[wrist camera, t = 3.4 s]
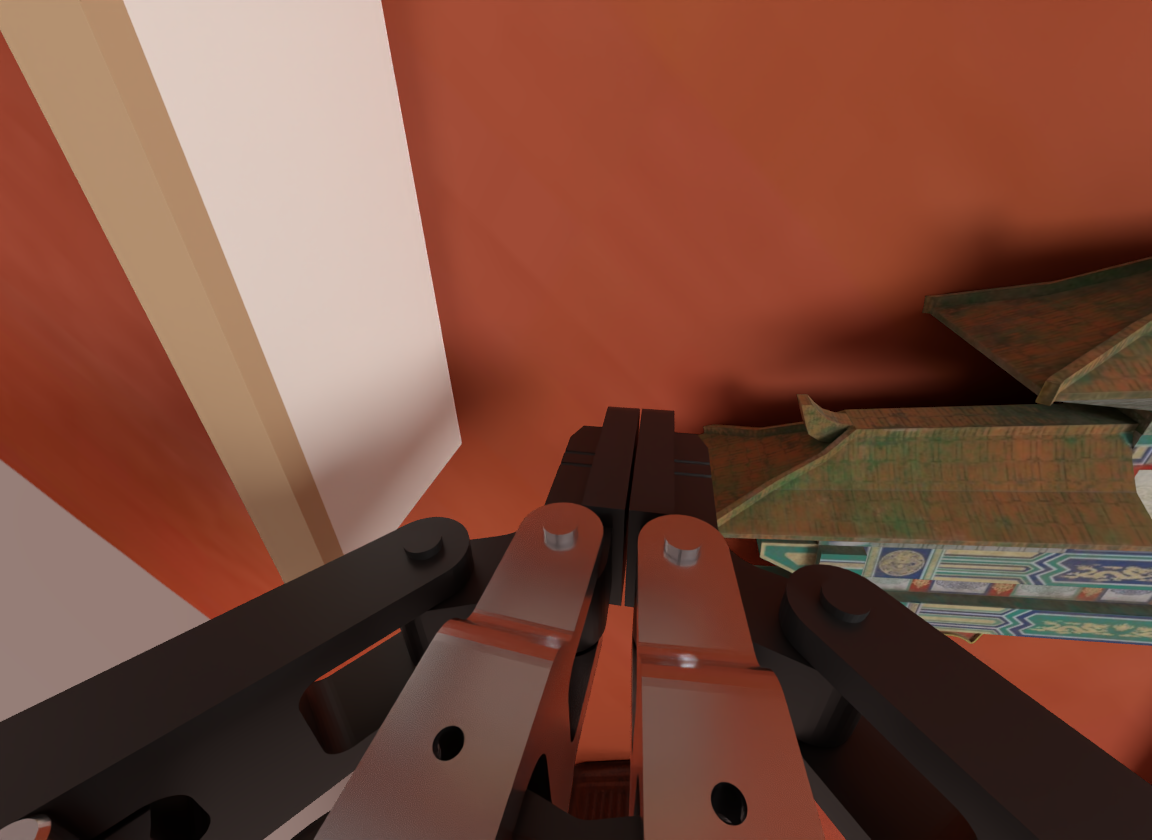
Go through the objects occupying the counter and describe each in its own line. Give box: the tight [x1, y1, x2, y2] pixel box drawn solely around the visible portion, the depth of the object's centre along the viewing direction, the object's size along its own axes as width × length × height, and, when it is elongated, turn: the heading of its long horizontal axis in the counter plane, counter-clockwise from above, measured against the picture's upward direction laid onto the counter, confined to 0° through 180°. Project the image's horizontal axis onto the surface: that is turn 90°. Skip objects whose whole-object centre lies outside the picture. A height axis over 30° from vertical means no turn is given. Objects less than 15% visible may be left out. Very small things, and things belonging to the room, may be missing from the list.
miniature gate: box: [698, 256, 1152, 646], centre depth 16 cm, size 27×6×30 cm
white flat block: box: [0, 0, 462, 583], centre depth 11 cm, size 16×2×8 cm, turn 2°
